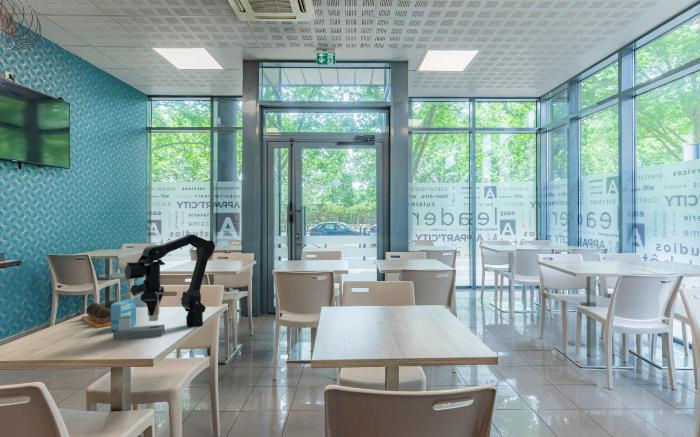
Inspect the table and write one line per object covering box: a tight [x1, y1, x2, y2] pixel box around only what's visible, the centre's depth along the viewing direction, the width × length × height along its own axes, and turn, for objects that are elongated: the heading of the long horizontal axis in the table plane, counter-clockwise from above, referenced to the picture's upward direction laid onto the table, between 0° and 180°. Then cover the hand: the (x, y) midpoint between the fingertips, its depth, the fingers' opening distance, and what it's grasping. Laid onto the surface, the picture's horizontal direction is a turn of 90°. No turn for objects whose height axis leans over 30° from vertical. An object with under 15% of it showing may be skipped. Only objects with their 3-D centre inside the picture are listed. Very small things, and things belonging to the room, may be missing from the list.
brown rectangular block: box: [147, 300, 160, 322], centre depth 179 cm, size 4×3×8 cm
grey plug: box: [118, 315, 131, 331], centre depth 176 cm, size 4×3×8 cm
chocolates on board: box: [80, 300, 118, 329], centre depth 208 cm, size 28×17×8 cm, turn 45°
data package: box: [110, 299, 137, 332], centre depth 191 cm, size 12×4×12 cm, turn 175°
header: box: [112, 324, 165, 341], centre depth 177 cm, size 18×8×3 cm, turn 105°
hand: (153, 313), depth 179 cm, fingers open, 8 cm apart
